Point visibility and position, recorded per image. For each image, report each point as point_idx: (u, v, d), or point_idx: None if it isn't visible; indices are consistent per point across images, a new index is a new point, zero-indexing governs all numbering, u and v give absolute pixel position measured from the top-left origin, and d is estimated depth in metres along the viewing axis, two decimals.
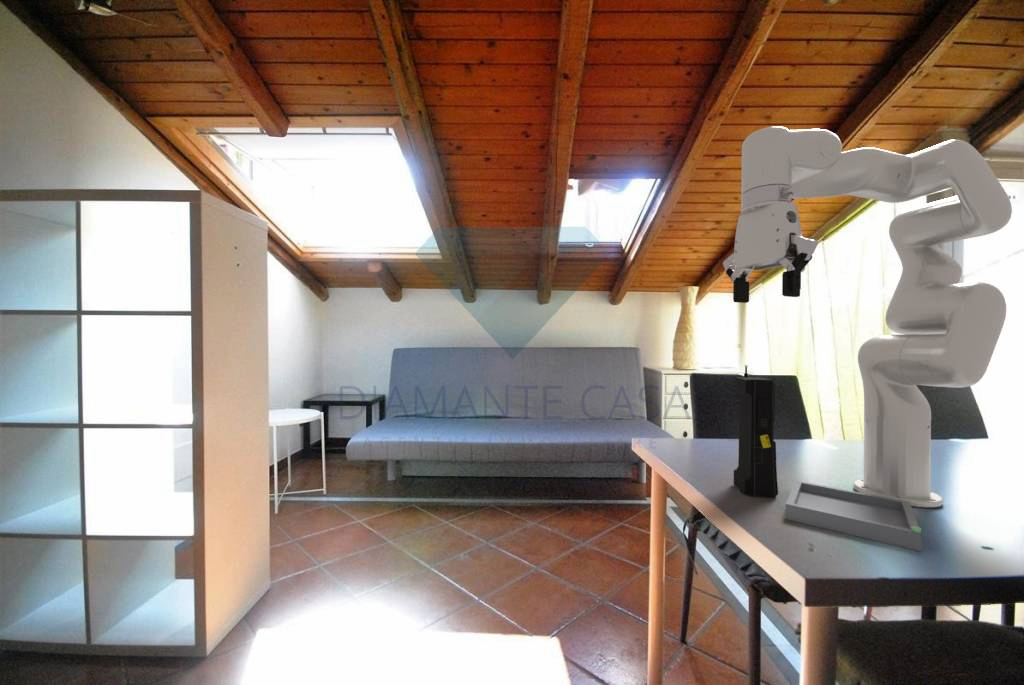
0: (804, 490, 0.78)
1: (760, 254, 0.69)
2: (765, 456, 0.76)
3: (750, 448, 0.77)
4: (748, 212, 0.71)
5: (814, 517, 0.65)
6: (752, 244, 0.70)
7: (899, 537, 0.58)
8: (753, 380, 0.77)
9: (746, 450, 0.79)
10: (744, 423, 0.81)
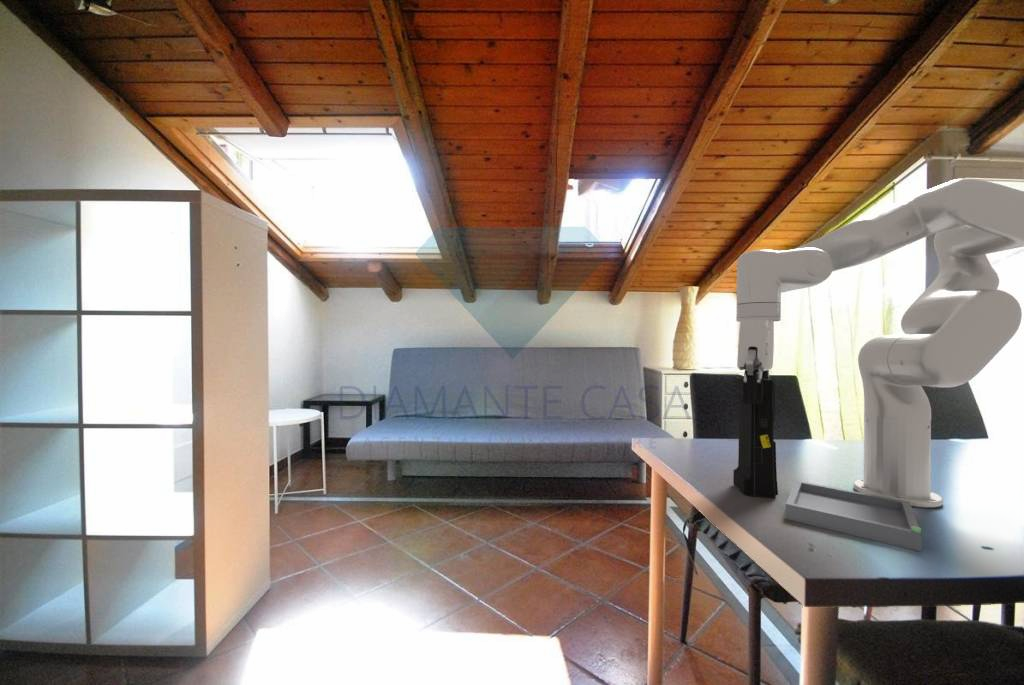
0: (804, 490, 0.78)
1: (771, 361, 0.79)
2: (765, 456, 0.76)
3: (750, 448, 0.77)
4: (771, 320, 0.77)
5: (814, 517, 0.65)
6: (771, 351, 0.78)
7: (899, 537, 0.58)
8: None
9: (746, 450, 0.79)
10: (744, 423, 0.80)
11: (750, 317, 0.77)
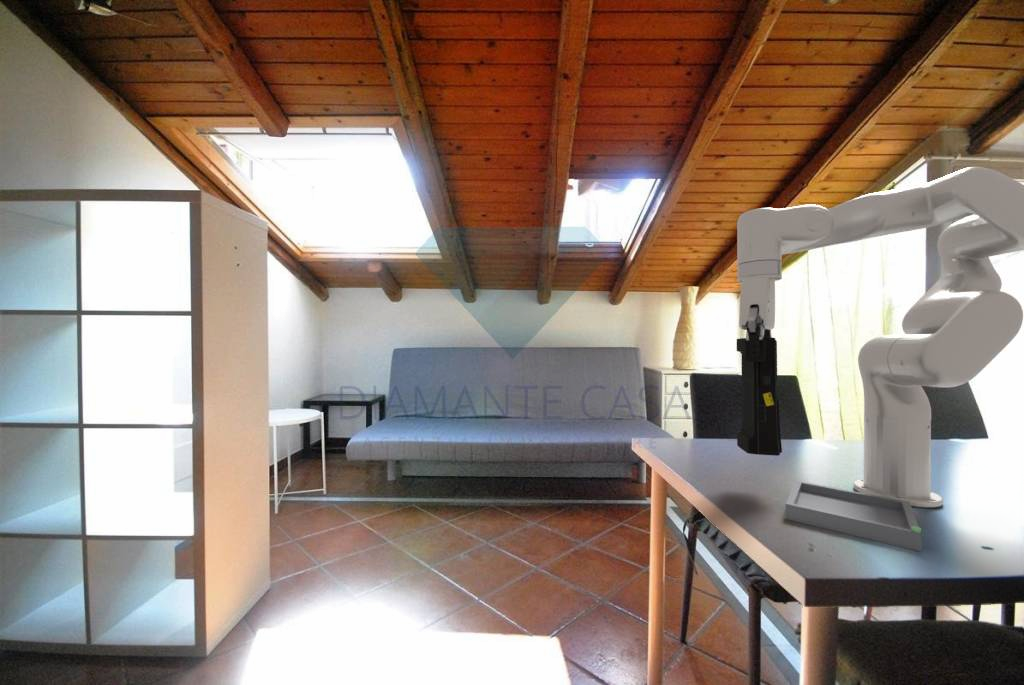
0: (804, 490, 0.78)
1: (773, 320, 0.79)
2: (768, 414, 0.76)
3: (754, 406, 0.77)
4: (772, 278, 0.77)
5: (814, 517, 0.65)
6: (773, 309, 0.78)
7: (899, 537, 0.58)
8: None
9: (749, 410, 0.79)
10: (747, 383, 0.81)
11: (751, 276, 0.77)
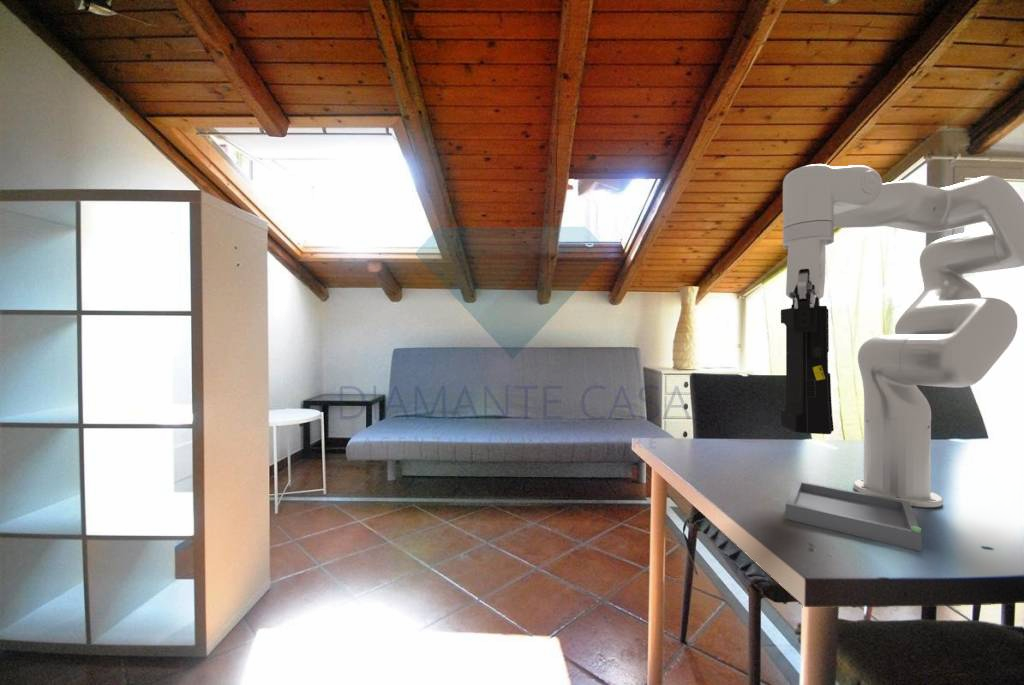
0: (804, 490, 0.78)
1: (823, 288, 0.73)
2: (819, 389, 0.70)
3: (802, 381, 0.71)
4: (824, 241, 0.71)
5: (814, 517, 0.65)
6: (823, 275, 0.71)
7: (899, 537, 0.58)
8: None
9: (796, 385, 0.73)
10: (793, 357, 0.74)
11: (800, 238, 0.71)
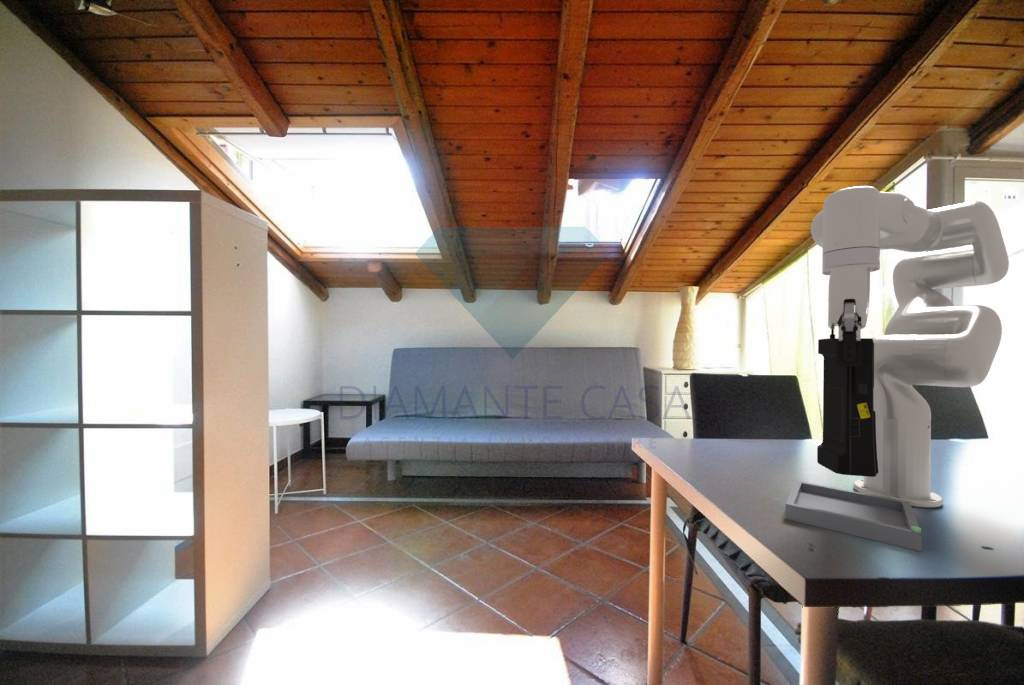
0: (804, 490, 0.78)
1: None
2: (863, 428, 0.65)
3: (845, 419, 0.66)
4: (869, 269, 0.66)
5: (814, 517, 0.65)
6: None
7: (899, 537, 0.58)
8: None
9: (837, 423, 0.68)
10: (833, 391, 0.69)
11: (844, 265, 0.66)
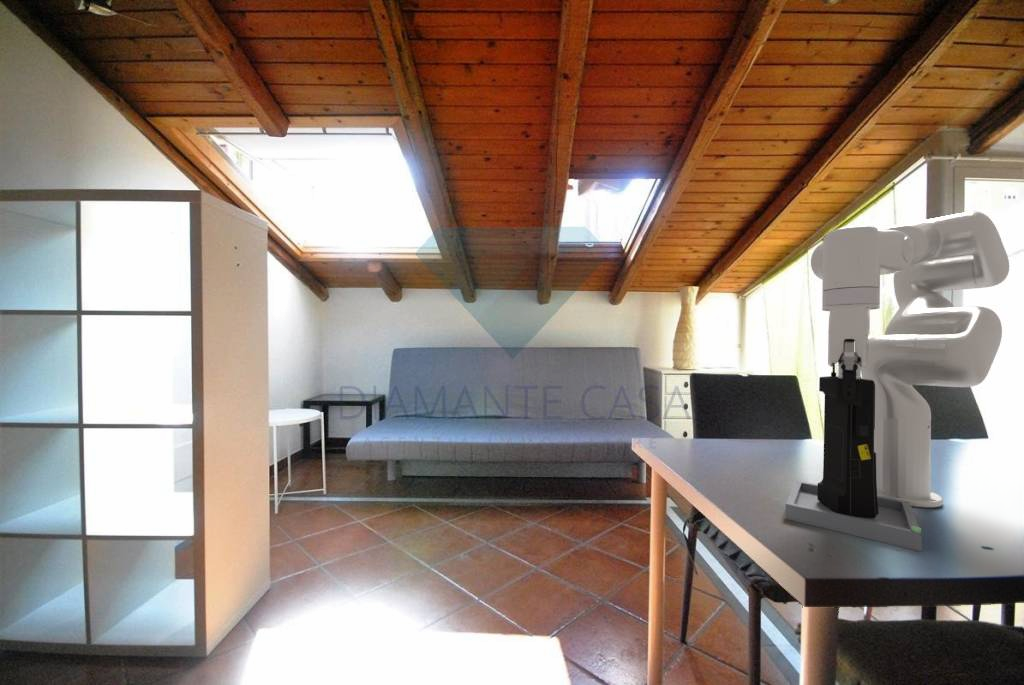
0: (804, 490, 0.78)
1: None
2: (864, 469, 0.65)
3: (846, 460, 0.66)
4: (869, 308, 0.66)
5: (814, 517, 0.65)
6: None
7: (899, 537, 0.58)
8: None
9: (837, 462, 0.68)
10: (834, 430, 0.69)
11: (844, 305, 0.66)
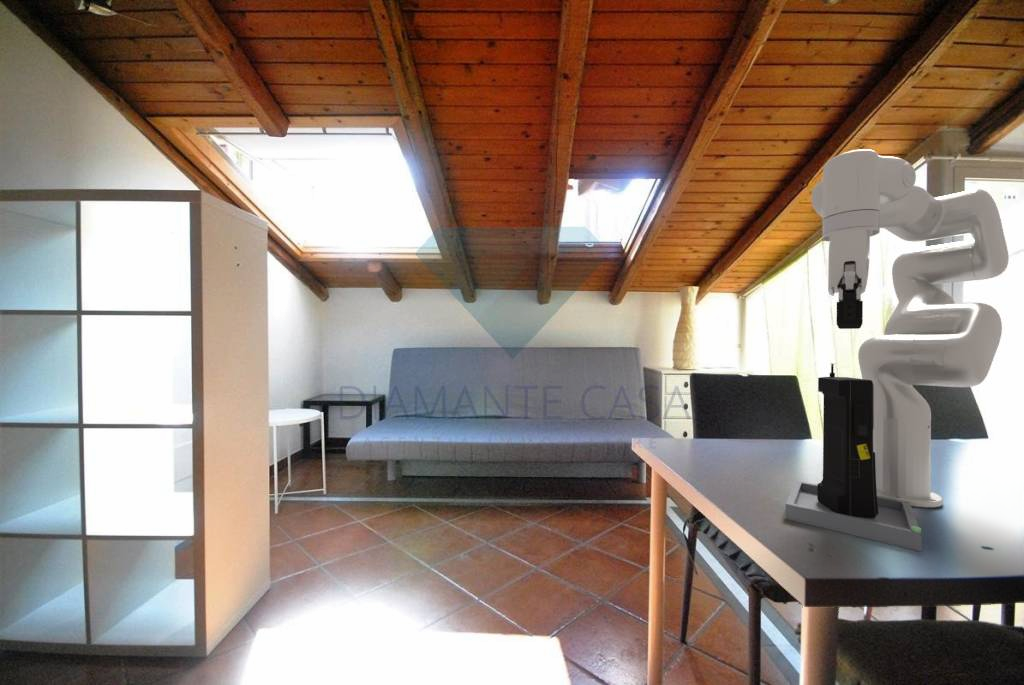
0: (804, 490, 0.78)
1: None
2: (863, 469, 0.66)
3: (845, 459, 0.66)
4: (869, 232, 0.66)
5: (814, 517, 0.65)
6: None
7: (899, 537, 0.58)
8: (848, 380, 0.66)
9: (837, 462, 0.68)
10: (833, 430, 0.70)
11: (844, 229, 0.66)
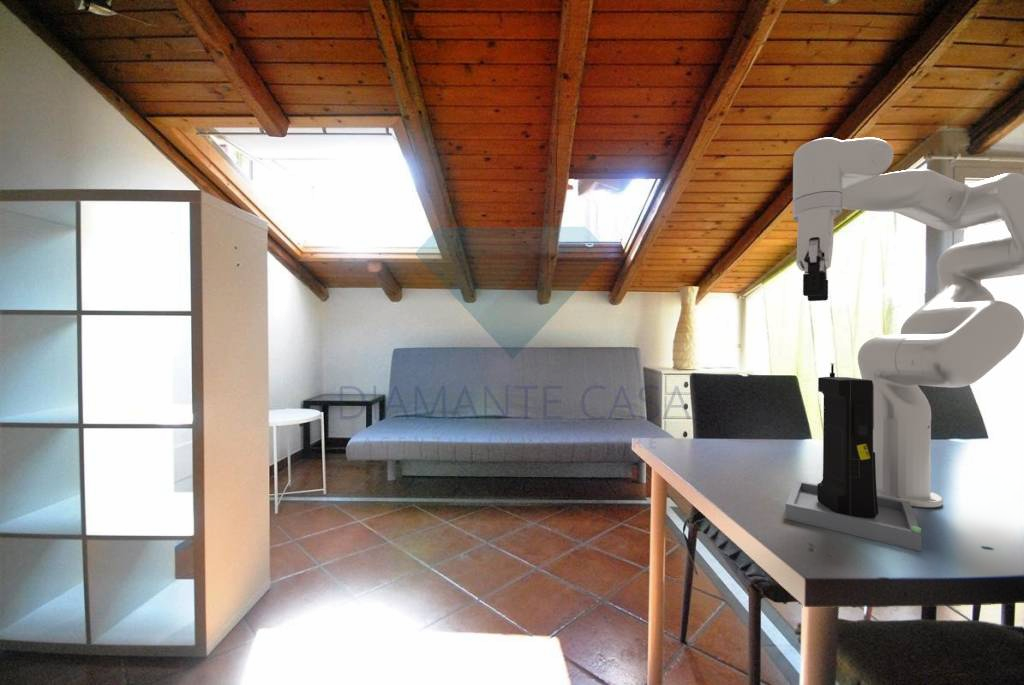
0: (804, 490, 0.78)
1: (831, 257, 0.76)
2: (863, 469, 0.66)
3: (845, 459, 0.66)
4: (833, 212, 0.74)
5: (814, 517, 0.65)
6: (832, 245, 0.74)
7: (899, 537, 0.58)
8: (848, 380, 0.66)
9: (837, 462, 0.68)
10: (833, 430, 0.70)
11: (810, 209, 0.74)
